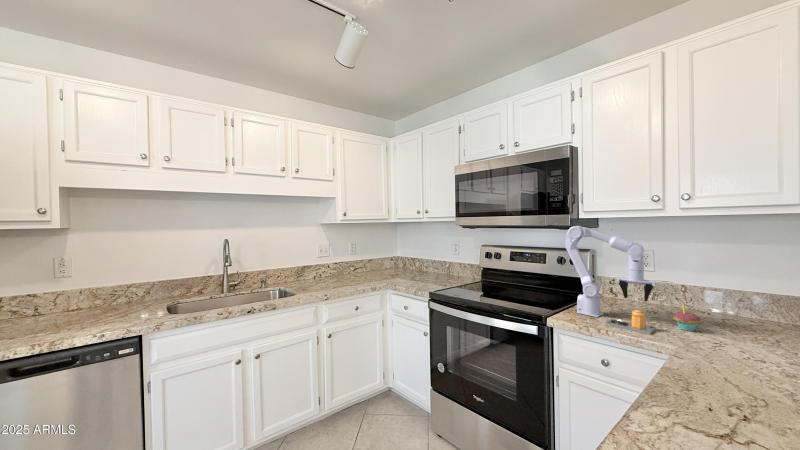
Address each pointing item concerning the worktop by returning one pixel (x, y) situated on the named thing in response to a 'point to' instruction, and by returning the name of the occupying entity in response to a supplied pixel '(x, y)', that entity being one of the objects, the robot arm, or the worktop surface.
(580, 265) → the robot arm
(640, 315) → the acorn cap nut
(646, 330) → the plate
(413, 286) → the worktop surface
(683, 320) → the cupcake
